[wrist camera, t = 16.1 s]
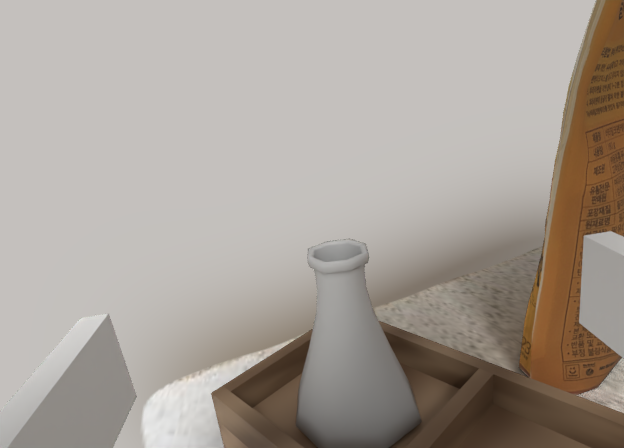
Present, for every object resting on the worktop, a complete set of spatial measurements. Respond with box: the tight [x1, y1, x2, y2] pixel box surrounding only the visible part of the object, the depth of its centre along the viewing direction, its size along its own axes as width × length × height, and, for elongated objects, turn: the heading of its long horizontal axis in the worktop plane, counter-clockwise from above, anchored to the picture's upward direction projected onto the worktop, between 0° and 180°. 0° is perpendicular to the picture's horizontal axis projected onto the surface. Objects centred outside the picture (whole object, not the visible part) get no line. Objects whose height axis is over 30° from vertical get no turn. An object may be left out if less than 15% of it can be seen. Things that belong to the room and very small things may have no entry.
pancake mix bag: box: [519, 0, 624, 395], centre depth 27 cm, size 7×19×28 cm, turn 129°
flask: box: [296, 239, 422, 448], centre depth 24 cm, size 7×7×10 cm
